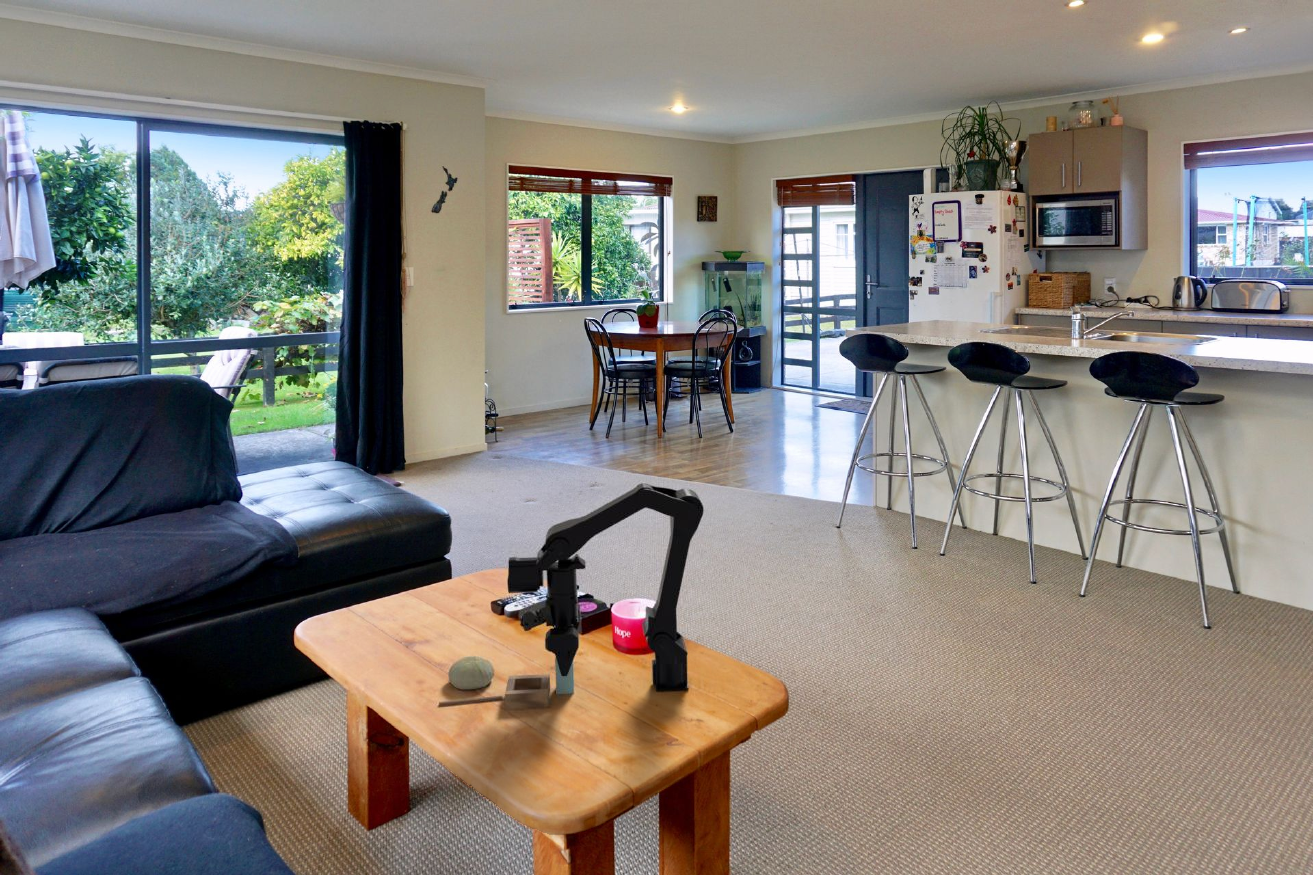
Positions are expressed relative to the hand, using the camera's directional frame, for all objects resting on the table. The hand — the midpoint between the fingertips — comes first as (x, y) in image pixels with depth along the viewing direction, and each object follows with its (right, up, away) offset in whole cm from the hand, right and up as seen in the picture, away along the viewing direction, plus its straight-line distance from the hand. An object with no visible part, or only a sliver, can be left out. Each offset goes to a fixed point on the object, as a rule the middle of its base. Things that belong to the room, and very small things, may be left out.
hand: (565, 665), depth 184 cm
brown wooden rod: (-18, -6, -4) cm, 19 cm away
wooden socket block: (-7, -6, -3) cm, 9 cm away
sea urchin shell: (-19, -5, +5) cm, 21 cm away
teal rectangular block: (0, -5, +1) cm, 5 cm away
